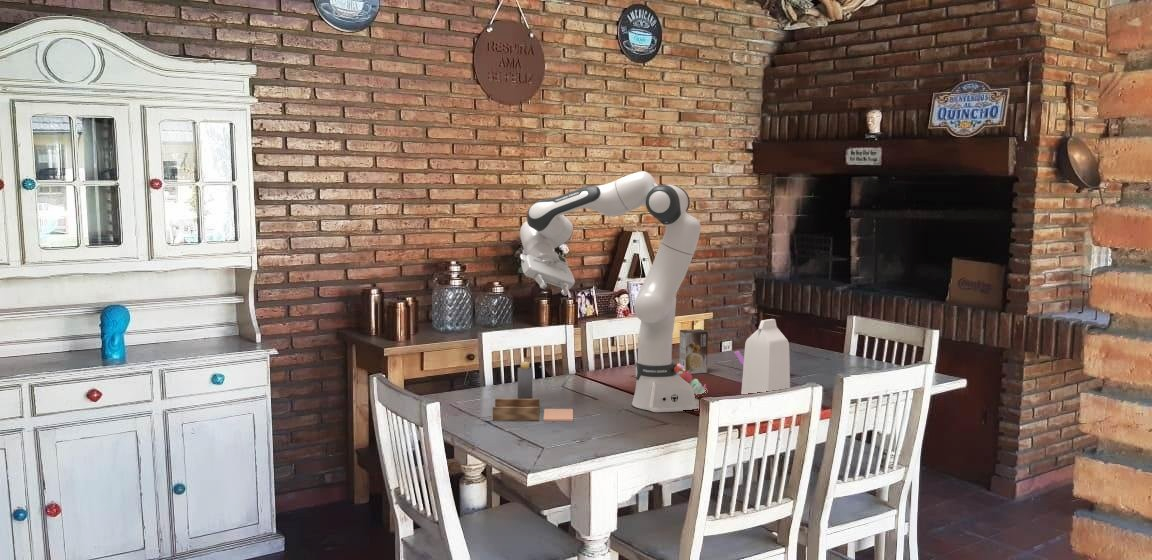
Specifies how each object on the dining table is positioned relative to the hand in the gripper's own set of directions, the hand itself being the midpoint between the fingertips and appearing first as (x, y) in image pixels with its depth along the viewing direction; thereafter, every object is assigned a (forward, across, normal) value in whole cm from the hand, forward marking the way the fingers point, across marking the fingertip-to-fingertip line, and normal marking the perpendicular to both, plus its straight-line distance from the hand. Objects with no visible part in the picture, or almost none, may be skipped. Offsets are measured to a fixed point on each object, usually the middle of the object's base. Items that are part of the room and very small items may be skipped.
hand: (555, 290), depth 288 cm
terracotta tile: (+34, +4, +20) cm, 40 cm away
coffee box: (+6, +80, +13) cm, 82 cm away
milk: (+36, +74, -12) cm, 83 cm away
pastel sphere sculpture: (+22, +55, +10) cm, 60 cm away
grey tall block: (+21, +5, +32) cm, 39 cm away
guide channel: (+30, -5, +28) cm, 41 cm away
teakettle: (+17, +96, -4) cm, 97 cm away
